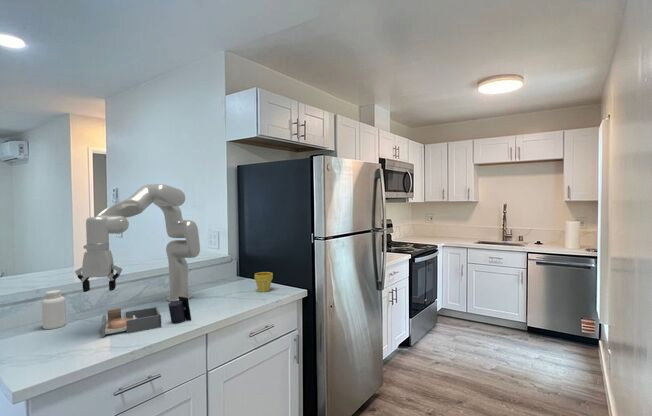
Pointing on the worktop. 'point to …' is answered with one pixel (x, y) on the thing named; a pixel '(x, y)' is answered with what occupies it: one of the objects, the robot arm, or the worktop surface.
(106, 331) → the tray
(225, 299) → the worktop surface
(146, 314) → the housing
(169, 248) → the robot arm
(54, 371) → the worktop surface
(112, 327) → the tan domed disc
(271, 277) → the plant pot
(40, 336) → the worktop surface
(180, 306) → the speaker
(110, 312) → the brown wooden cube
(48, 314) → the pill bottle
